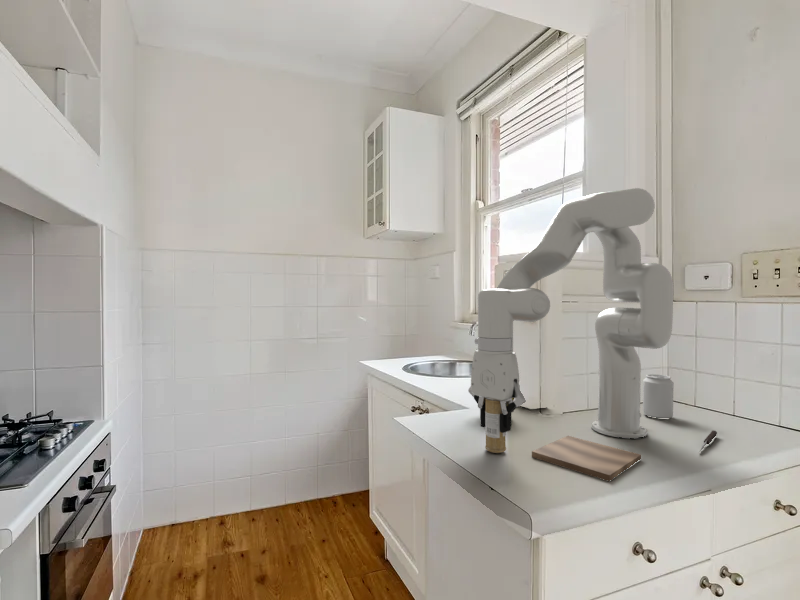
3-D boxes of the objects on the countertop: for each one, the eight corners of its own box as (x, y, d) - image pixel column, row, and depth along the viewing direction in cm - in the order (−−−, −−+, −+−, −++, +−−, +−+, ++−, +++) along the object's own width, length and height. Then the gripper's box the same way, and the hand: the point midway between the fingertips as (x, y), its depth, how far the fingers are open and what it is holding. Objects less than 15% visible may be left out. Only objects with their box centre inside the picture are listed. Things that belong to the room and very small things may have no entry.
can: (679, 420, 119) (679, 378, 119) (652, 420, 119) (652, 377, 119) (662, 413, 127) (663, 373, 127) (637, 413, 127) (638, 372, 127)
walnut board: (567, 440, 101) (567, 435, 101) (641, 460, 89) (641, 454, 89) (531, 456, 91) (531, 451, 91) (609, 481, 79) (609, 475, 79)
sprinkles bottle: (510, 450, 93) (510, 389, 93) (495, 455, 90) (495, 391, 90) (495, 444, 97) (494, 385, 96) (480, 448, 94) (480, 388, 94)
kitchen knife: (712, 437, 106) (712, 429, 106) (716, 438, 105) (717, 430, 105) (696, 457, 93) (696, 447, 93) (701, 458, 92) (701, 449, 92)
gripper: (454, 343, 97) (454, 423, 97) (519, 350, 84) (519, 442, 85) (475, 341, 102) (475, 417, 102) (539, 347, 89) (539, 434, 90)
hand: (495, 427), depth 93 cm, fingers closed on sprinkles bottle, 4 cm apart
